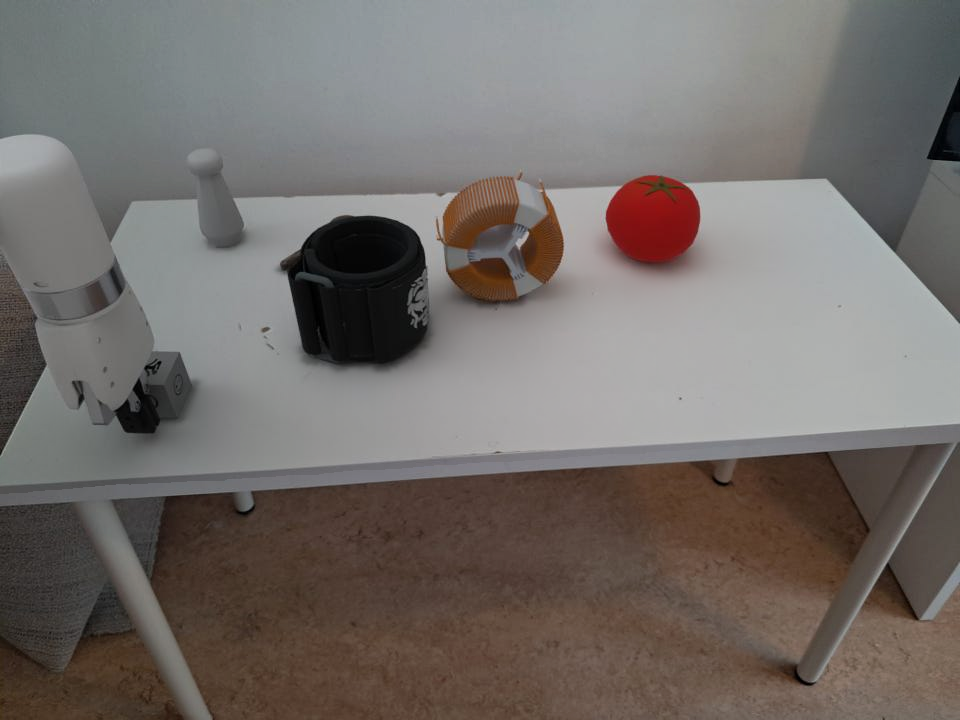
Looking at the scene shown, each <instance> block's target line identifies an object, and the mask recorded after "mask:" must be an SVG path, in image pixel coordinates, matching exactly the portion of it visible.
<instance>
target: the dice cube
mask: <svg viewBox="0 0 960 720" xmlns="http://www.w3.org/2000/svg"><path fill="white" fill-rule="evenodd" d="M145 366H146V368H145V373H146V376H147V379H148V382H149V386H150V389H149V393H148V394H146V395H150V398H151V400H152V402H153V404H154V407H155V409H156V411H157V413H158V416H159V418H160V419H177V420H178V419H179V416H180V414H181V412H182V410H183V408H184V405H185V402H186V401H187V398H188V395H189V393H190V391H191V388H192V386H193V384H192V381H191V379H190V376H189V374H188V373H189V372H188V371H187V368H186V365H185V363H184V360H183V357H182V355H181V352H180V351H167V350H166V351H164V350H163V351H161V350H159V351H157V350H155V351H154V350H153V351H152V353H151V355H150V357H149V359H148V361H147V363H146V365H145Z"/></svg>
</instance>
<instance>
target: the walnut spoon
mask: <svg viewBox="0 0 960 720" xmlns="http://www.w3.org/2000/svg"><path fill="white" fill-rule="evenodd" d="M353 216H354V215H351V214H343V215H339V216H336V217H334V218H332V219H331V220H330V221H329V222H333V221H336V220H339V219H343V218H347V217H353ZM299 258H300V249H298V250H295V252H293V253H292V254H290V255H288V256H287V257H286V258H284V259H282V260H281V261H280V262H279V267H280V269H282V270H283V271H288V269H289V268H290V267H291V266H292V265H294V264H295V263H296V262H297V261H298V259H299Z"/></svg>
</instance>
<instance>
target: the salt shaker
mask: <svg viewBox="0 0 960 720" xmlns="http://www.w3.org/2000/svg"><path fill="white" fill-rule="evenodd" d="M186 164H187V167H188V170H189V172H190V173H191V175H194V176H195V177H194V178H195V189H196V191H195V192H196V200H197V202H196V203H197V214H198V215H197V216H198V226H199V229H200V232H201V234H202V236H203V237H205V238H206V239H207V240H208V241H209V242H210V243H211V244H212V245H213V246H214V247H215V248H230V247H232V246H234V245H236V244H238V243H240V241H241V236H242V233H243V230H244V226H245V222H244V220H243V217H242V214H241V212H240V210H239V208H238V206H237V204H236V201H235V199H234V197H233V195H232V193H231V190H230V188H229V187H228V184H227V182H226V179H225V178H224V176H223V173H222V172H221V171H222V170H223V168H224V162H223V158H222V156H221V155H220V152H219V151H217V150H216V149H213V148H208V147H207V148H206V147H205V148H199V149H195V150H193V151H192V152H190V153H189V154H188V156H187V158H186Z"/></svg>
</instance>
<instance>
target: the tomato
mask: <svg viewBox="0 0 960 720" xmlns="http://www.w3.org/2000/svg"><path fill="white" fill-rule="evenodd" d="M605 222H606V227H607V228H606V229H607V232H608V233H609V235H610V237H611V239H612V241H613V242H614V244H615V245H616V246H617V248H618V249H619V250H620V251H621V252H623V254H625V255H627V257H630V258H632V259H634V260H637V261H640V262H645V263H662V262H667V261H671V260H673V259H676V258H678V257H679V256H680V255H682V254H684V253H685V252H686V251H687V250H688V249H689V248H690V247H691V246H692V245H693V244H694V242H695V239H696V238H697V235H698V233H699V229H700V223H701V207H700V204H699V200H698V198H697V197H696V195H695V193H694V191H693V190H692V189H691V187H688V185H686V184H684V183H683V182H681V181H679V180H677V179H674V178H671V177H668V176H663V175H662V174H661V175H657V174H656V175H655V174H648V175H642V176H639V177H636V178H634V179H632V180H630V181H628V182H626V183H624V184H623V185H622V186H621V187H620V188H619V189H618V190H617V191H616V192H615V193H614V195H613V196H612V198H611V199H610V201H609V203H608V205H607V208H606V209H605Z"/></svg>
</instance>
